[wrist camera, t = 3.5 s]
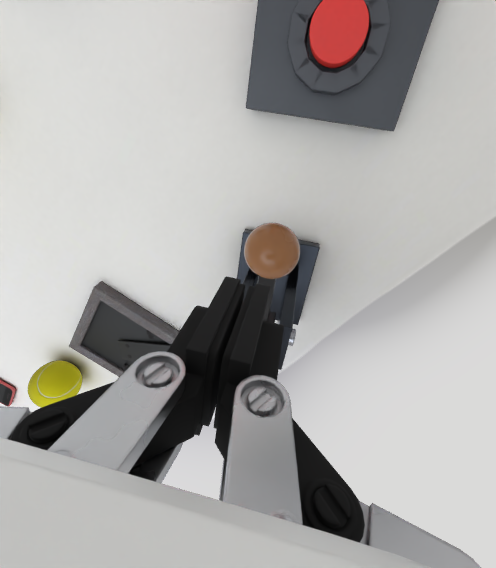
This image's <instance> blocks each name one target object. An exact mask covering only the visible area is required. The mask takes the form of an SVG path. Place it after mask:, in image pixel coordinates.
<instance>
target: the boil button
mask: <svg viewBox="0 0 496 568" xmlns="http://www.w3.org/2000/svg"><path fill="white" fill-rule="evenodd" d="M368 28H369V13H368V9H367V6H366V3H365V2H364V0H323V1H322V2H321V3H320V4H319V6H318V7H317V9H316V10H315V12H314V15H313V17H312V20H311V24H310V32H309V36H310V47H311V51H312V54H313V56H314V58H315V59H316V60H317V62H318V63H320V64H321V65H323V66H325V67H328V68H337V67H341V66H343V65H345V64H347V63H348V62H349V61H351V60H352V59H353V58H354V57H355V55H356V54H357V53H358V51H359V49H360V48H361V46H362V44H363V43H364V40H365V38H366V35H367V32H368Z"/></svg>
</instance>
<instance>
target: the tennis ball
mask: <svg viewBox="0 0 496 568" xmlns="http://www.w3.org/2000/svg"><path fill="white" fill-rule="evenodd" d="M81 385H82V375H81V372H80V371H79V369H78V368H77V367H76V366H74V365H73V364H71V363H69V362H67V361H60V360H58V361H53V362H50V363H47V364H45V365H43V366H42V367H40V368H39V369H38V370H37V371H36V372H35V373H34V374H33V376H32V377H31V379H30V381H29V384H28V394H29V397H30V399H31V400H32V402H33V403H34V404H36V405H37V406H39V407H44V406H47V405H49V404H52V403H55V402H58V401H61V400H64V399H67V398H70V397H73V396H75V395H77V393H78V392H79V390H80V388H81Z"/></svg>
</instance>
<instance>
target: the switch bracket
mask: <svg viewBox="0 0 496 568" xmlns="http://www.w3.org/2000/svg"><path fill="white" fill-rule="evenodd" d="M252 231H253V230H248V229H245V231H244V232H243V238H242V245H241V252H240V260H239V267H238V275H237V279H240V280H241V284H245V292H244V299H245V296H246V294H247V291H248V288H249V286H254V287H255V285H256V283H258V275H257V274H255V273H254V272H253V271H252V270H251V269H250V268H249V266H248V264H247V262H246V260H245V256H244V247H245V242H246V240H247V238H248V236H249V235H250V233H251V232H252ZM298 241H299V245H300V257H299V260H298V263H297V265H296V266H295V268H294V269H293V270H292V271H291V272H290V273H289V274H287V275H285V276H283V277H281V278H277V279H276V283H275V288H274V293H273V298H272V303H271V308H270V311H271V312H276V317H275V320H278V324H281V325H284V331H283V338H282V346H281V353H280V360H279V368H278V369H280V370H281V369H282V365H283V361H284V358H285V354H286V350H287V347H288V345H291V346H292V345H293V343H294V339H295V334H296V330H295V329H292V327H293V324H296V325H298V323H299V319H300V316H301V312H302V308H303V305H304V301H305V298H306V294H307V291H308V287H309V284H310V280H311V276H312V273H313V269H314V266H315V262H316V259H317V255H318V251H319V244H318V243H313V242H308V241H303V240H298ZM244 299H243V302H244Z"/></svg>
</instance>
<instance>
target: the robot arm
mask: <svg viewBox="0 0 496 568" xmlns="http://www.w3.org/2000/svg"><path fill="white" fill-rule="evenodd" d="M270 287H271V286H268V285H263V284H259V283H256V285H255V287H254V286H249V288H248V291H247V294H246V296H245V299H244V292H245V284H241V280H240V279H235V278H231V277H225V279H224V280H223V282H222V284H221V286H220V288H219V289H218V291H217V293H216V295H215V297H214V298H213V300H212V302H211V304H210V306H209V307H208V308H206V307H201V306H196V307H195V308H194V310H193V311H192V313H191V314H190V316H189V317H188V319H187V321H186V322H185V324H184V325H183V327H182V329H181V330H180V332H179V333H178V335H177V336H176V338H175V340H174V341H173V343H172V344H171V346H170V348H169V349H168V351H167V352H153V353H148V354H146V355H144V356H142V357H140V358H139V359H138V360H136V361H135V362H134V363H133V364H132V365H131V366H130V367H129V368H128V369H127V370H126V371H125V372H124V373H123V374H122V375H121V376H120V377H119V378H118V379H117V380H116V381H115V382H113V383H110V384H107V385H104V386H101V387H99V388H96V389H93V390H90V391H87V392H84V393H81V394H78V395H75V396H73V397H70V398H67V399H64V400H61V401H58V402H55V403H52V404H49V405H47V406H44V407H42V408H40V409H38V410H36V411H34V412H30V411H29V408H26V407H0V568H481V567H480V566H479V565H478V564H477V563H476V562H475V561H474V560H473V559H472V558H471V557H470V556H468V555H467V554H465V553H464V552H463V551H461V550H460V549H458V548H456V547H454V546H452V545H451V544H449V543H447V542H445V541H443V540H441V539H439V538H437V537H436V536H433V535H432V534H430V533H428V532H426V531H424V530H422V529H420V528H419V527H417V526H415V525H413V524H411V523H409V522H407V521H405V520H403V519H402V518H400V517H398V516H396V515H394V514H392V513H390V512H388V511H386V510H384V509H383V508H380V507H379V506H377V505H375V504H373V503H372V504H371V505H370V506H368V505H366V504H364V503H362V502H360V501H359V500H358V499H357V497H356V496H355V494H354V493H353V491H352V490H351V488H350V487H349V486H348V485H347V484H346V482H345V481H344V480H343V479H342V478H341V476H340V475H339V474H338V473H337V471H336V470H335V469H334V468H333V467H332V465H331V464H330V463H329V462H328V461H327V460H326V458H325V457H324V456H323V455H322V453H321V452H320V451H319V450H318V449H317V448H316V446H315V445H314V444H313V443H312V442H311V440H310V439H309V438H308V436H307V435H306V434H305V433H304V432H303V430H302V429H301V428H300V427H299V426H298V424H297V423H296V422H295V421H294V420H293V418H292V412H291V402H290V397H289V394H288V392H287V390H286V389H285V387H284V386H283V385H282V384H280V383H279V382H278V381H277V375H278V368H279V360H280V353H281V346H282V338H283V331H284V325H281V324H276V323H272V322H267V321H264V317H265V312H266V307H267V302H268V297H269V292H270ZM243 299H244V302H243ZM215 407H216V412H215V421H214V428H216V429H217V431H216V438H215V443H216V445H217V447H218V449H219V451H220V452H221V454H222V456H223V458H224V461H223V468H222V477H221V487H220V495H219V500H216V499H213V498H209V497H206V496H202V495H199V494H195V493H192V492H189V491H185V490H182V489H178V488H175V487H171V486H168V485H165V484H161V483H162V481H163V480H164V478H165V476H166V474H167V473H168V471H169V469H170V467H171V466H172V464H173V462H174V460H175V459H176V457H177V455H178V453H179V452H180V449H181V447H182V444H183V442H184V441H186V440H188V439H190V438H192V437H194V435H200V432H201V429H202V426H203V425H206V426H209V424H210V422H211V419H212V416H213V413H214V410H215Z"/></svg>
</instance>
